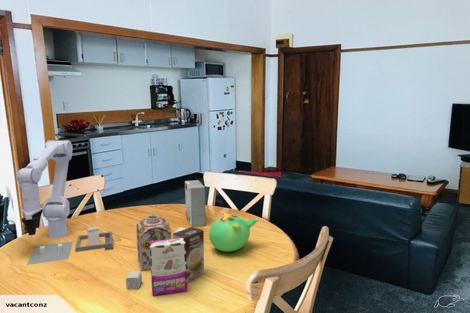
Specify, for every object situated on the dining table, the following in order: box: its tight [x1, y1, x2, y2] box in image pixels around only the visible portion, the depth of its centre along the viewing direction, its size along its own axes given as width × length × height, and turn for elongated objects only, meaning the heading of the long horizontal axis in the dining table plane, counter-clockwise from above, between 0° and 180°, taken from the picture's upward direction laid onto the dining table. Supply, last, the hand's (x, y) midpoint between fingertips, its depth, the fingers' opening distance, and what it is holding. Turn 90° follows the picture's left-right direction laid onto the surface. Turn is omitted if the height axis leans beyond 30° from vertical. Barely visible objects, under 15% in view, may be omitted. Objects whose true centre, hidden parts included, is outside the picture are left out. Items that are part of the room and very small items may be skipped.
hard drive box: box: [184, 179, 207, 228], centre depth 175 cm, size 16×8×20 cm, turn 17°
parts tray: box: [75, 231, 114, 253], centre depth 148 cm, size 14×14×2 cm
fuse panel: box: [26, 241, 74, 266], centre depth 138 cm, size 18×14×4 cm
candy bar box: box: [150, 238, 188, 297], centre depth 111 cm, size 11×5×16 cm, turn 105°
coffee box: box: [172, 226, 205, 283], centre depth 120 cm, size 9×6×16 cm
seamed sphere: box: [173, 226, 187, 233], centre depth 149 cm, size 10×7×7 cm
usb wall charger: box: [125, 270, 143, 290], centre depth 113 cm, size 4×7×4 cm, turn 2°
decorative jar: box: [136, 214, 173, 272], centre depth 130 cm, size 12×12×18 cm
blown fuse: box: [86, 226, 101, 246], centre depth 147 cm, size 3×4×7 cm
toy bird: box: [208, 212, 259, 252], centre depth 142 cm, size 18×17×15 cm
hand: (34, 231), depth 138 cm, fingers open, 7 cm apart
